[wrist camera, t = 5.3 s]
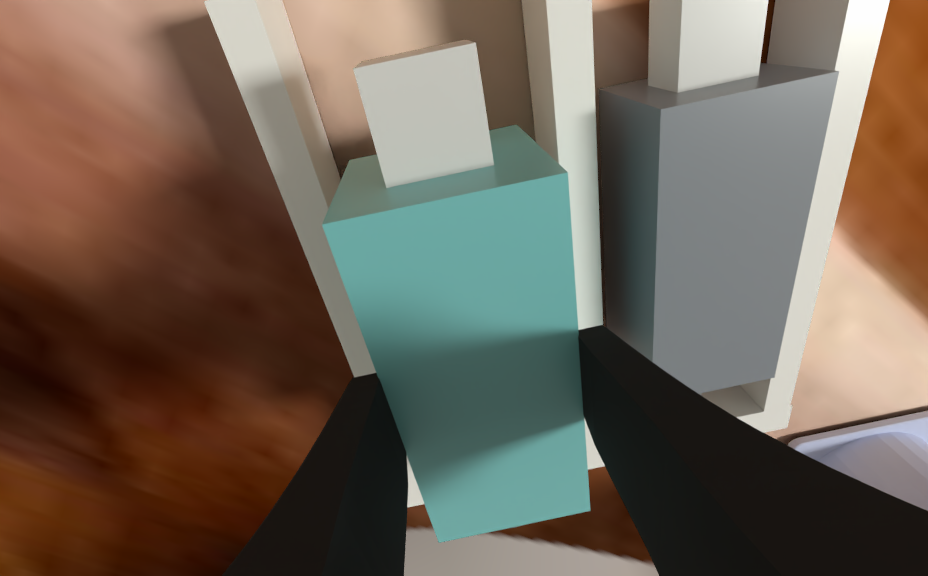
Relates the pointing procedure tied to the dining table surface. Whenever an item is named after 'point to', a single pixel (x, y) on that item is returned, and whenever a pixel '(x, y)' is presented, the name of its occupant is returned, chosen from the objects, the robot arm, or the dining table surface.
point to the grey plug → (708, 192)
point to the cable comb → (557, 155)
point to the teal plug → (465, 294)
